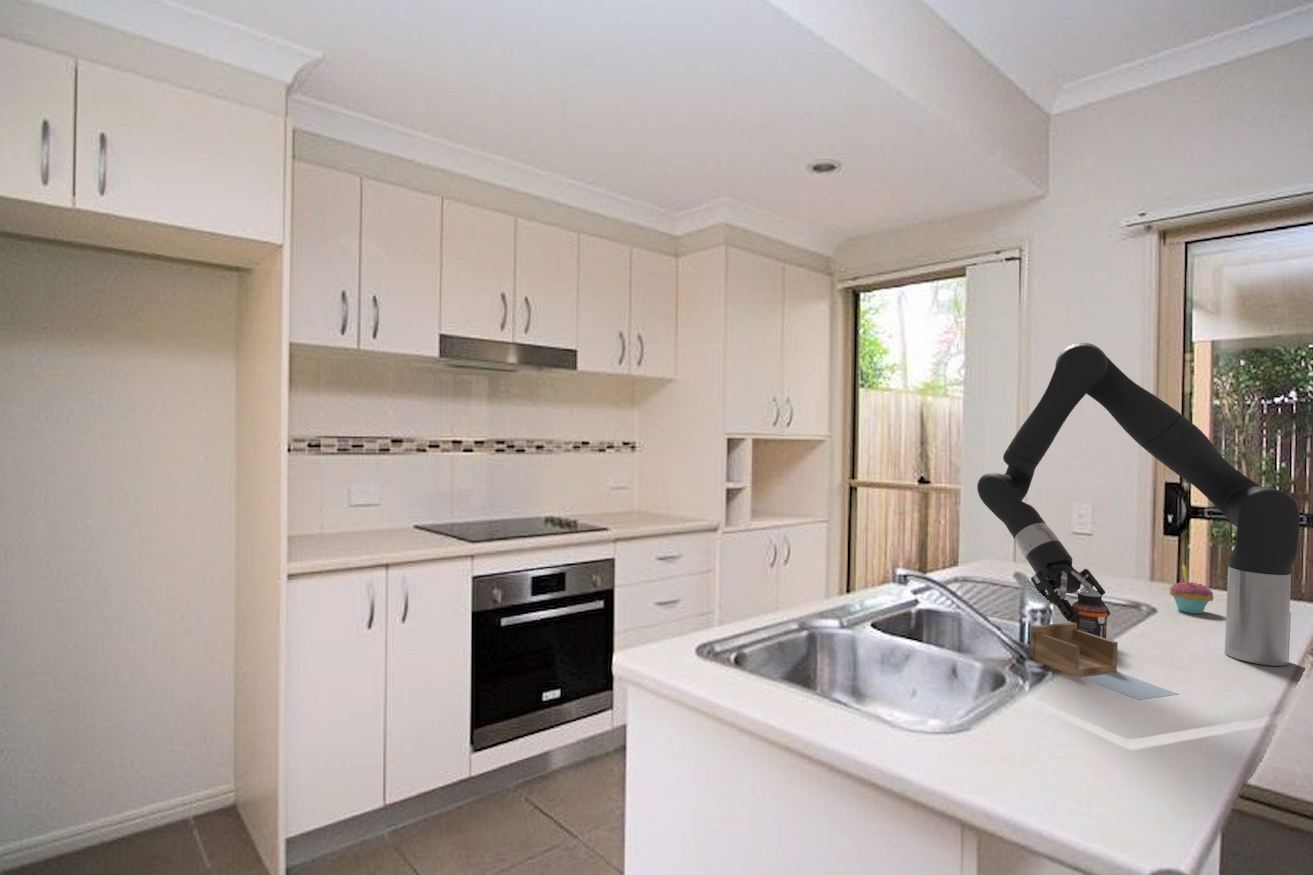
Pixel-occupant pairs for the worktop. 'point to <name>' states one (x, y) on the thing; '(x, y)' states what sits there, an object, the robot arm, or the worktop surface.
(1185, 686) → the worktop surface
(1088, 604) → the supplement bottle
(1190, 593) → the cupcake
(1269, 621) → the robot arm
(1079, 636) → the tray
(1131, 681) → the plate
